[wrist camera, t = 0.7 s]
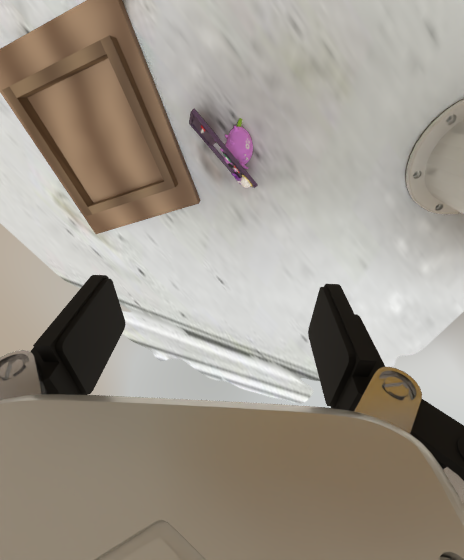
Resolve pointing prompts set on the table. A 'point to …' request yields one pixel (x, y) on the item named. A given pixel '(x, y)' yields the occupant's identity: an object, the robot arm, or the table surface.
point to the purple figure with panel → (228, 147)
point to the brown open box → (97, 115)
